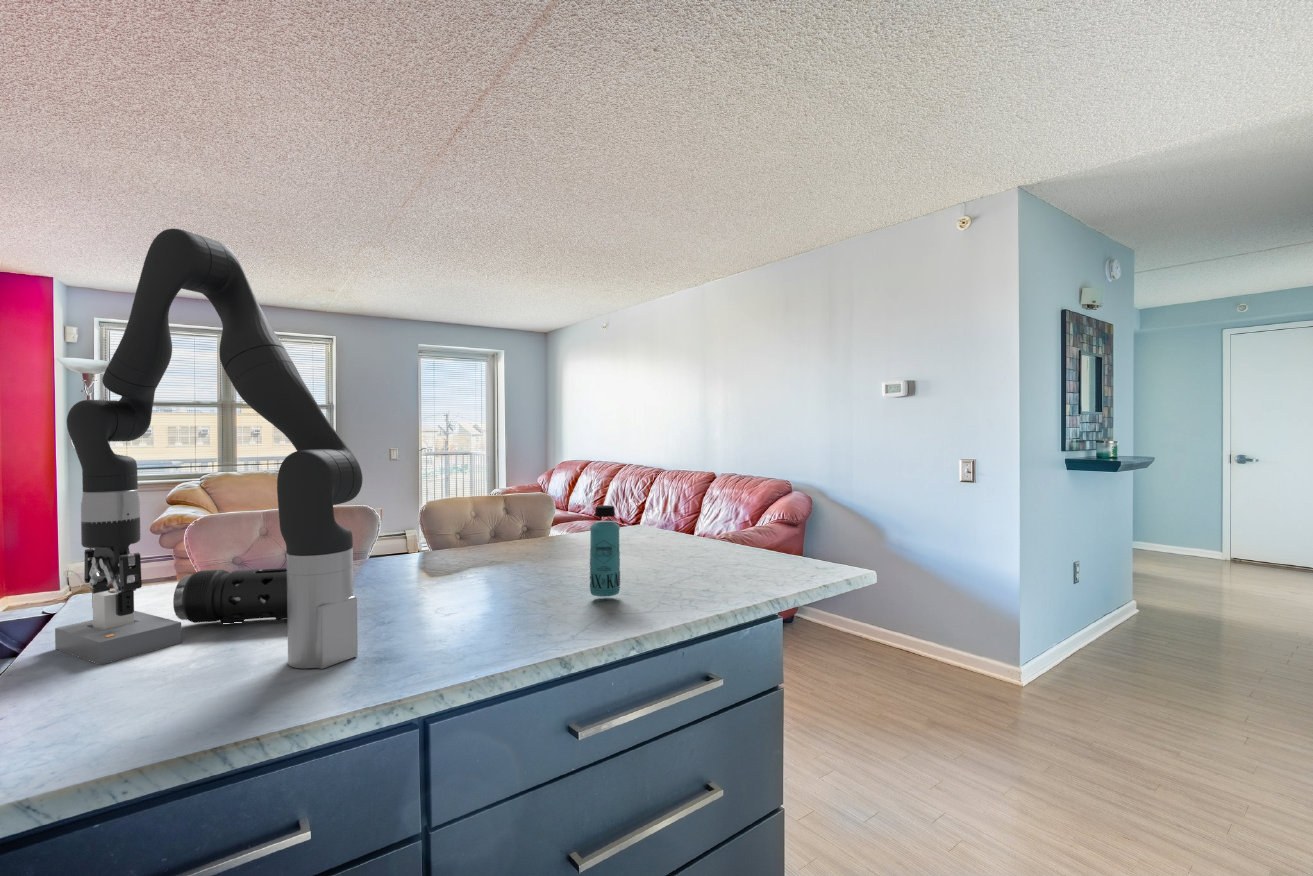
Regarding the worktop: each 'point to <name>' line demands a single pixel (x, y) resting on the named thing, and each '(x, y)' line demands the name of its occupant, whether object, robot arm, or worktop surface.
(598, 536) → the beverage bottle
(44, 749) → the worktop surface
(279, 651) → the worktop surface
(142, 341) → the robot arm
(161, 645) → the outlet block
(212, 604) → the muzzle brake
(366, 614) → the worktop surface
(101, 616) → the block
